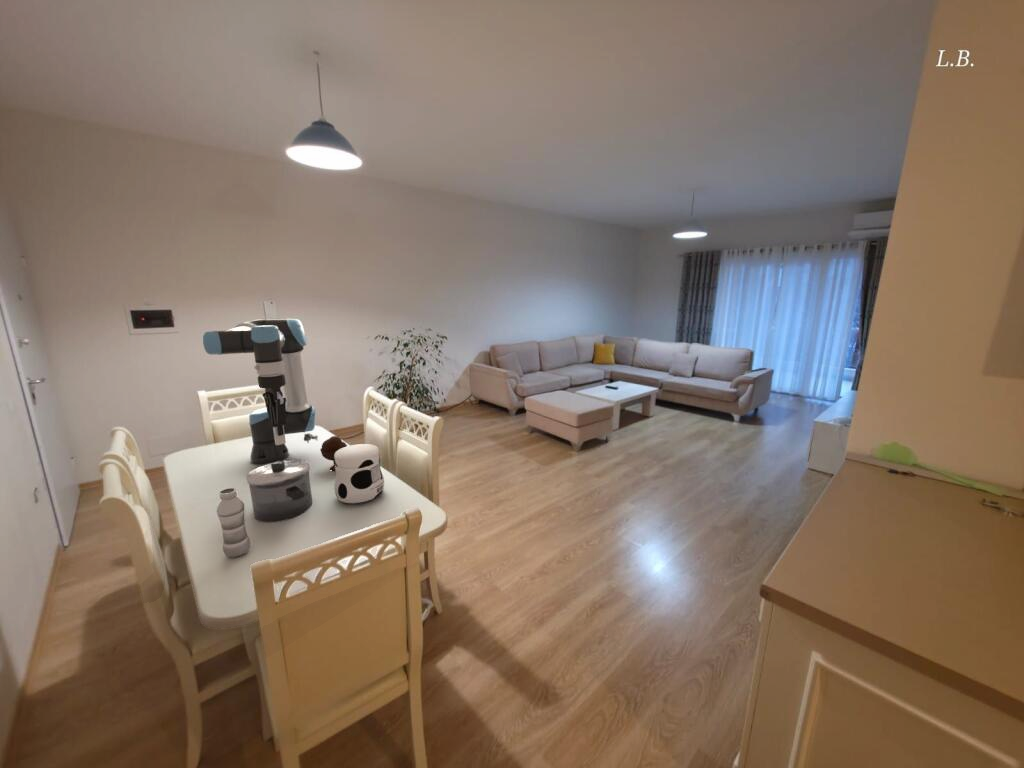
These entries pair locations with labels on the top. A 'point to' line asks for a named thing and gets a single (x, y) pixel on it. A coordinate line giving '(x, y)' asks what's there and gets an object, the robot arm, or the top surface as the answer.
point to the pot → (281, 499)
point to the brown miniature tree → (332, 448)
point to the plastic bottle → (232, 524)
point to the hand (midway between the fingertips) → (280, 443)
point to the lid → (277, 472)
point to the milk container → (358, 474)
